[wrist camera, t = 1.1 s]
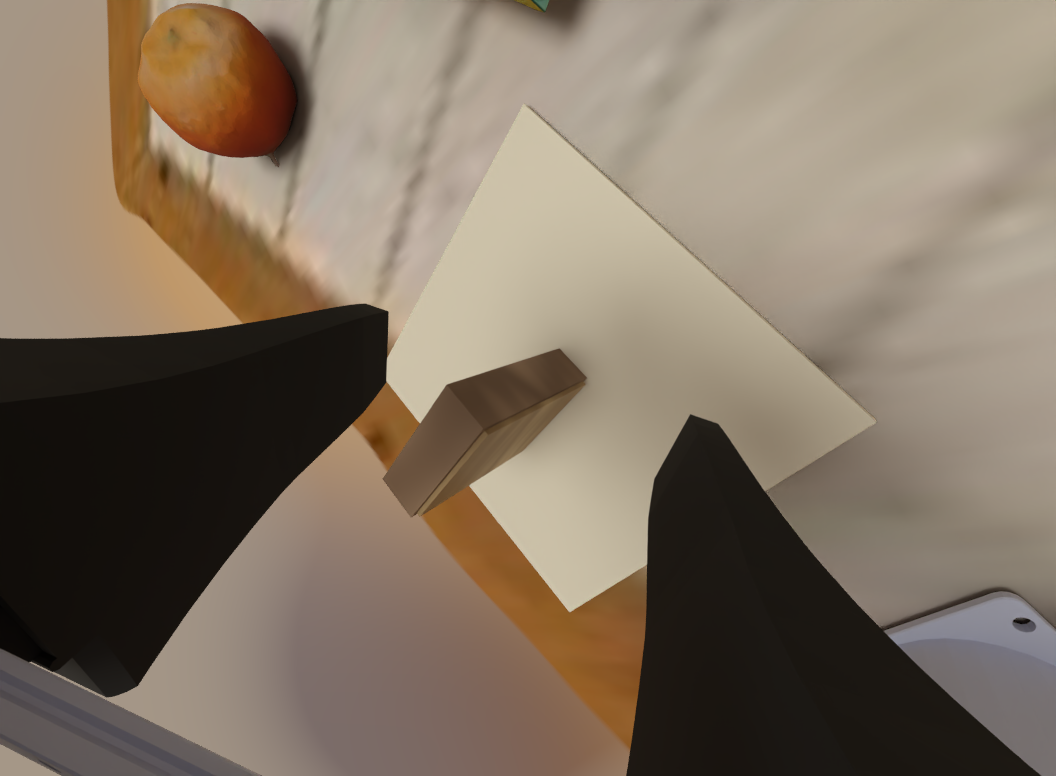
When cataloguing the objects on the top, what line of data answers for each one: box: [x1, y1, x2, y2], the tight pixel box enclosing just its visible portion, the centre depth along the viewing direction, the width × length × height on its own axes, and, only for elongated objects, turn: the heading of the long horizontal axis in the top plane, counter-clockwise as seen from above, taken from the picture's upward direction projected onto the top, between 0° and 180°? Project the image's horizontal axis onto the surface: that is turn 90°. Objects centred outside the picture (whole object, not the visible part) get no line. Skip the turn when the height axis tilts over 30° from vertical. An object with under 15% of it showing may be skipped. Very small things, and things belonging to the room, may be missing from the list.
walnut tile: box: [383, 348, 587, 517], centre depth 19 cm, size 2×6×8 cm, turn 140°
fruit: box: [138, 3, 297, 167], centre depth 27 cm, size 8×8×8 cm
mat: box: [386, 104, 877, 612], centre depth 22 cm, size 19×18×1 cm
